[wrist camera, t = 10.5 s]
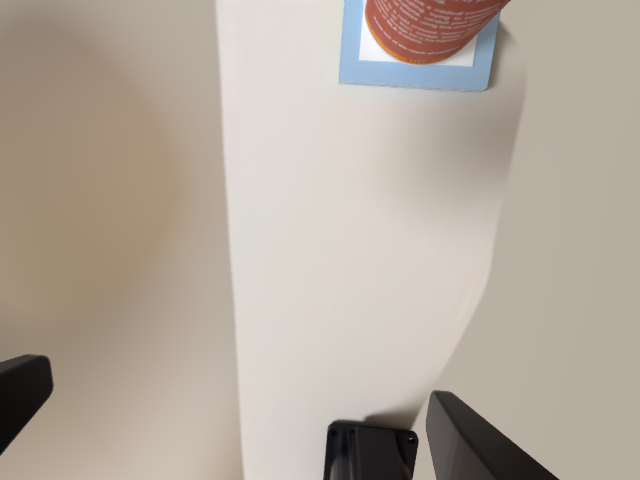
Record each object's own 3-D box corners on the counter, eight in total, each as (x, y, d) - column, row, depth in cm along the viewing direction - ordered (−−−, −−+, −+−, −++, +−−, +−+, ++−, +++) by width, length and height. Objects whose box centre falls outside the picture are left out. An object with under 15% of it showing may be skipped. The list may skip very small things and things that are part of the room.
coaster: (480, 91, 17) (487, 87, 16) (338, 83, 18) (338, 79, 17) (508, -79, 16) (519, -94, 15) (351, -85, 16) (351, -100, 15)
